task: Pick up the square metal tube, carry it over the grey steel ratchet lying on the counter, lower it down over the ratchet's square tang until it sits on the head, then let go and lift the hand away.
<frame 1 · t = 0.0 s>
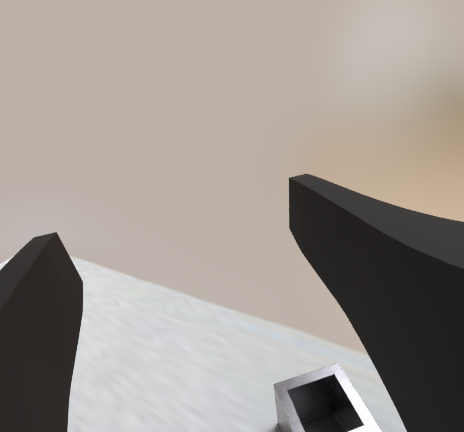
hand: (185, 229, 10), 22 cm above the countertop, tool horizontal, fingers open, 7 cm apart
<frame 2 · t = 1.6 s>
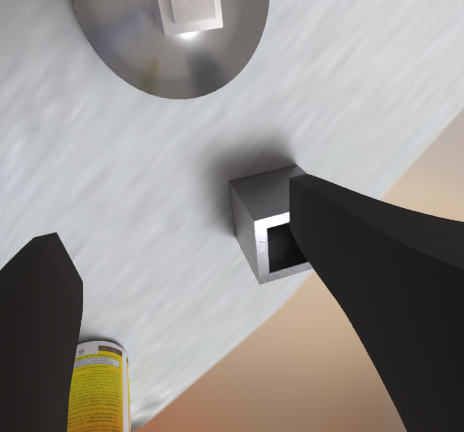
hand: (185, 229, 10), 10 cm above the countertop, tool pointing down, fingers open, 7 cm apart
supplement bottle: (93, 357, 27), on the countertop
square metal tube: (265, 203, 24), on the countertop
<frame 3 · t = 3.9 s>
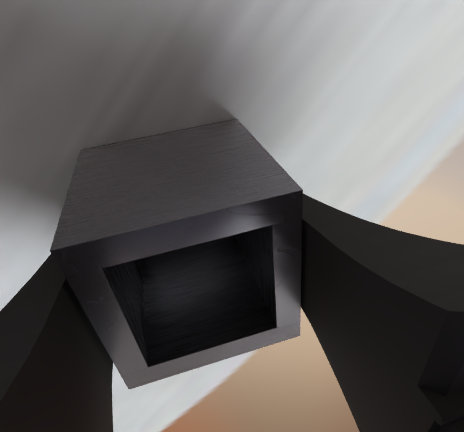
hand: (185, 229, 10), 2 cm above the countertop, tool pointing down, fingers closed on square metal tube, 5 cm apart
square metal tube: (177, 199, 12), on the countertop, touching gripper
when the fingers open (3 cm above the countertop, at t = 9.0 s): square metal tube stays where it is, resting on ratchet.
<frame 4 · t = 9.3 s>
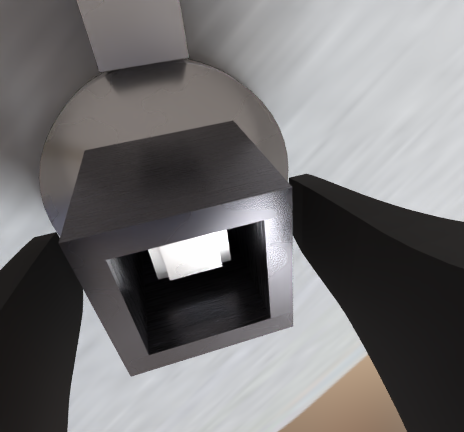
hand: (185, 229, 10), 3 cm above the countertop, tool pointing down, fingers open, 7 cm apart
square metal tube: (177, 197, 12), point 1 cm above the countertop, touching ratchet
ratchet: (173, 181, 13), on the countertop
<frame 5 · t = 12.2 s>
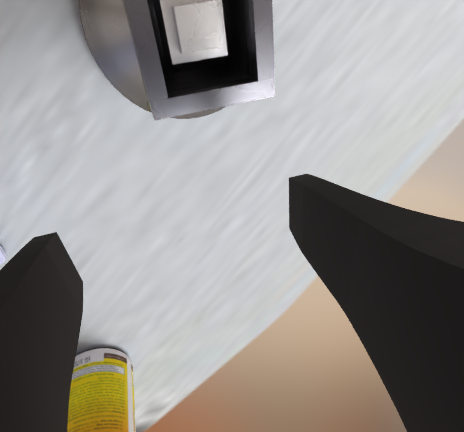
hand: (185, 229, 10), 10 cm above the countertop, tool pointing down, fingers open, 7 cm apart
supplement bottle: (98, 364, 28), on the countertop
square metal tube: (184, 28, 16), point 1 cm above the countertop, touching ratchet
ratchet: (180, 22, 16), on the countertop
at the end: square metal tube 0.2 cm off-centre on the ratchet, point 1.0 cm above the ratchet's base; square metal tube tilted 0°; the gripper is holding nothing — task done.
